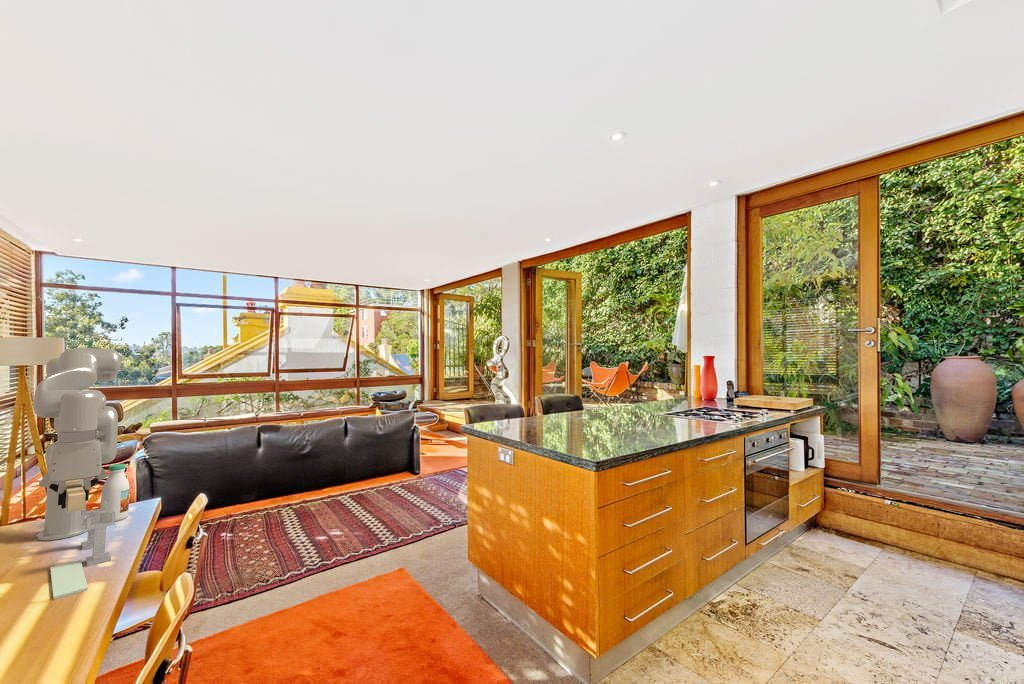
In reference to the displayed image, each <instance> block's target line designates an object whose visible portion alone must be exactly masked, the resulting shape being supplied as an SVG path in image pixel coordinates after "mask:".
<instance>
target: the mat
mask: <svg viewBox="0 0 1024 684" xmlns="http://www.w3.org/2000/svg"><path fill="white" fill-rule="evenodd" d="M83 567H84V566H83V564H82V561H81V559H79V560H75V561H71V562H66V563H63V564H59V565H54V566H50V567H49V568H50V570H49V572H50V571H51V572H50V580H51V591H52V598H53V600H57V599H60V598H64V597H67V596H71V595H74V594H77V593H82V592H86V591H88V590H89V586H88V582H87V579H86V576H85V571H84V568H83Z"/></svg>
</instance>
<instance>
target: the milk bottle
mask: <svg viewBox="0 0 1024 684" xmlns="http://www.w3.org/2000/svg"><path fill="white" fill-rule="evenodd" d="M125 470H126V464H125V463H115V464H110V465H109V466H108V476H107V477H106V478H107V479H106V480H105V482H104V484H103V485H102V489H101V494H100V495H101V497H100V507H99V509H101V508H104V500H108V501H109V508H108V512H106V513H100V522H102V521H107V520H110V513H111V512H112V511H114V512H115V513H116V514H115V522H118V521H122V520H123V521H124V520H126V519H127V518H128V516H129V506H130V505H129V504H130V503H129V502H130V482H129V480H128V478H127V476H126V474H125Z"/></svg>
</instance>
